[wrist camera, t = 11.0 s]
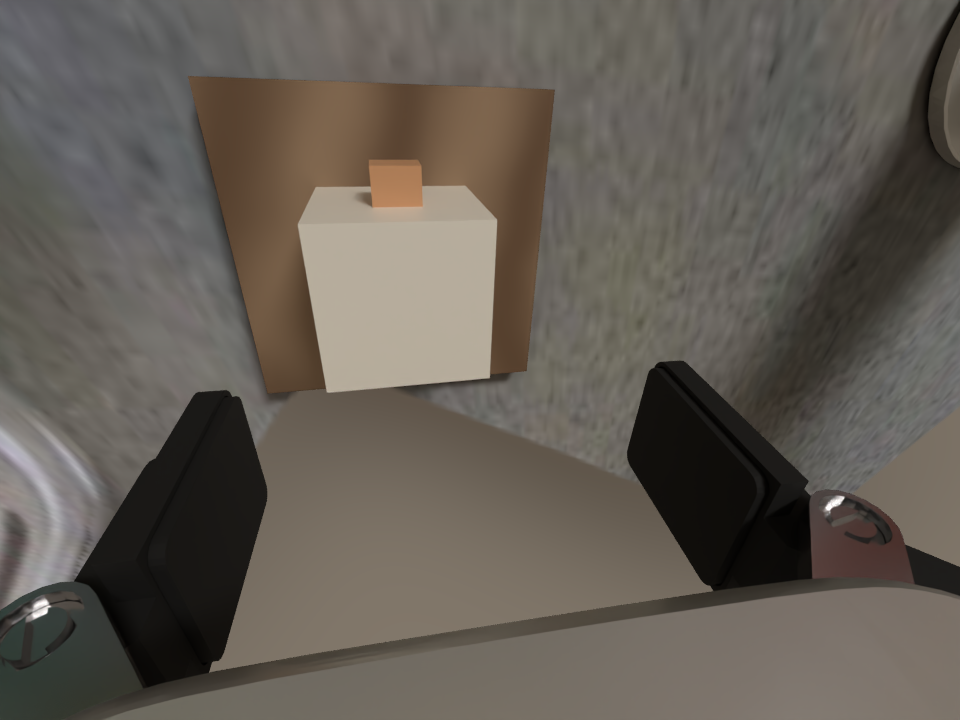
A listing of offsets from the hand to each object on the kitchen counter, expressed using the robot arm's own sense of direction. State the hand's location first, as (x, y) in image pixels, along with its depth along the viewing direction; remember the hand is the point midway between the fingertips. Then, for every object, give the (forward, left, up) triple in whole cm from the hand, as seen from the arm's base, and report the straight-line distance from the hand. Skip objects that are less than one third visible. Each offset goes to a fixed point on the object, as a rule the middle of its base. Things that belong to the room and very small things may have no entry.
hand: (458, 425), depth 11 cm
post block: (+1, 0, -15) cm, 14 cm away
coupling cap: (+1, 0, -13) cm, 13 cm away
